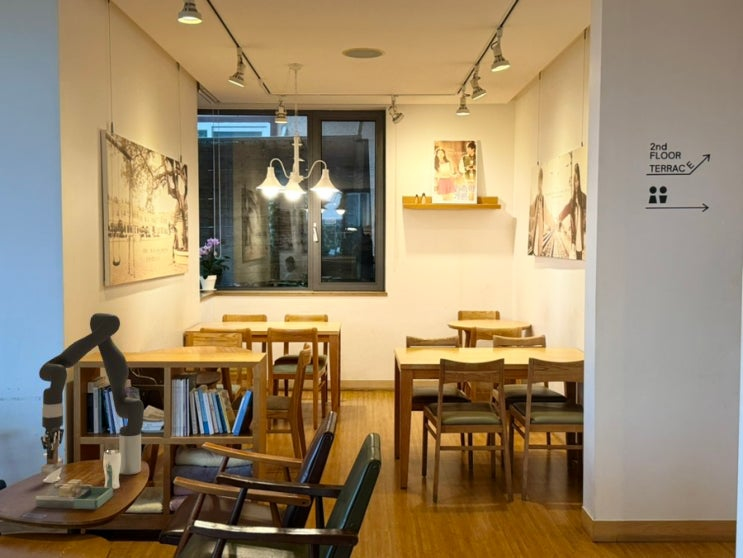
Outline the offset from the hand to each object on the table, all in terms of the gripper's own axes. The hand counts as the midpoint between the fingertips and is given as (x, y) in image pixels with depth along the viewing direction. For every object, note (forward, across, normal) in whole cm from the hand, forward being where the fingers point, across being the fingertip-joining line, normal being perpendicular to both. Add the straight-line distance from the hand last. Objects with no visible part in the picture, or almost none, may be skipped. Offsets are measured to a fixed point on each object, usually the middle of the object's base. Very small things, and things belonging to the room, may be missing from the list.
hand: (52, 457), depth 273 cm
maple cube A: (+14, -3, +8) cm, 16 cm away
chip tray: (+17, 0, +17) cm, 24 cm away
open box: (+17, 0, +5) cm, 18 cm away
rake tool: (+5, 0, 0) cm, 5 cm away
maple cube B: (+14, +3, +8) cm, 16 cm away
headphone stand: (+17, -24, -12) cm, 32 cm away
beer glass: (+17, -18, +16) cm, 30 cm away
